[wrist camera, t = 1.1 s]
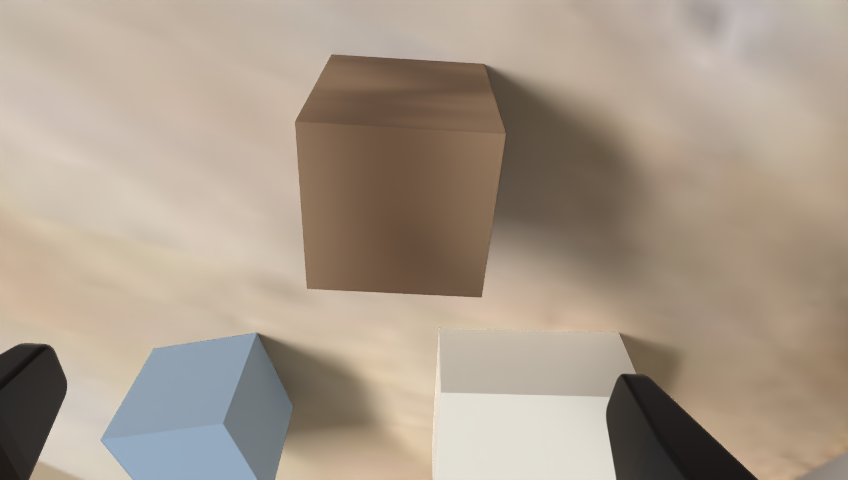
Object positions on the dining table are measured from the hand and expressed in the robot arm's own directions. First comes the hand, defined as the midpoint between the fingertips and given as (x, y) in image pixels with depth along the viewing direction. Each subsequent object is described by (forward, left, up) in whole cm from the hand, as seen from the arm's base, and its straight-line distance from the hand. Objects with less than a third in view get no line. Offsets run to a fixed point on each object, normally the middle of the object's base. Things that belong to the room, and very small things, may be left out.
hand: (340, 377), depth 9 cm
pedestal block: (-7, +14, -12) cm, 20 cm away
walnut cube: (-1, +1, -12) cm, 12 cm away
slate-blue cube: (+7, +14, -12) cm, 20 cm away
